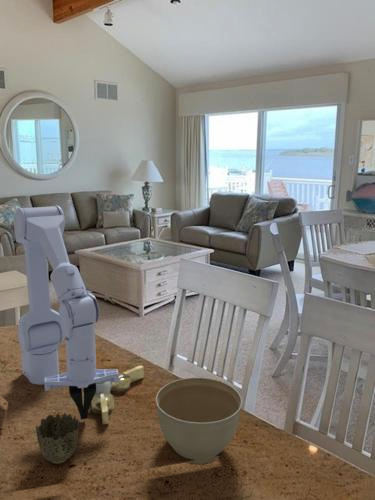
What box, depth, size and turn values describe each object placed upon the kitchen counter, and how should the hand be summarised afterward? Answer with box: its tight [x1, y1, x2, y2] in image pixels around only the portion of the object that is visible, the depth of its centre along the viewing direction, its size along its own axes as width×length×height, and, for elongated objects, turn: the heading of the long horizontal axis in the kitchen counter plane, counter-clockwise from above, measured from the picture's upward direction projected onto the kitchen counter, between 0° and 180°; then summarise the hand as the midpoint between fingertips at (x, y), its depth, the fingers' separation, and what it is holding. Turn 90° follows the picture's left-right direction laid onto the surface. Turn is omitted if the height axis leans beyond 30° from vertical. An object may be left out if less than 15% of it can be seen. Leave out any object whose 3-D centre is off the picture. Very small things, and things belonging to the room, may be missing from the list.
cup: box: [35, 413, 80, 464], centre depth 83 cm, size 8×7×8 cm
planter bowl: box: [155, 377, 243, 465], centre depth 87 cm, size 16×16×11 cm
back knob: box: [110, 365, 145, 393], centre depth 110 cm, size 9×5×3 cm, turn 135°
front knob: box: [90, 393, 115, 425], centre depth 98 cm, size 9×5×3 cm, turn 15°
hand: (83, 416), depth 95 cm, fingers closed
